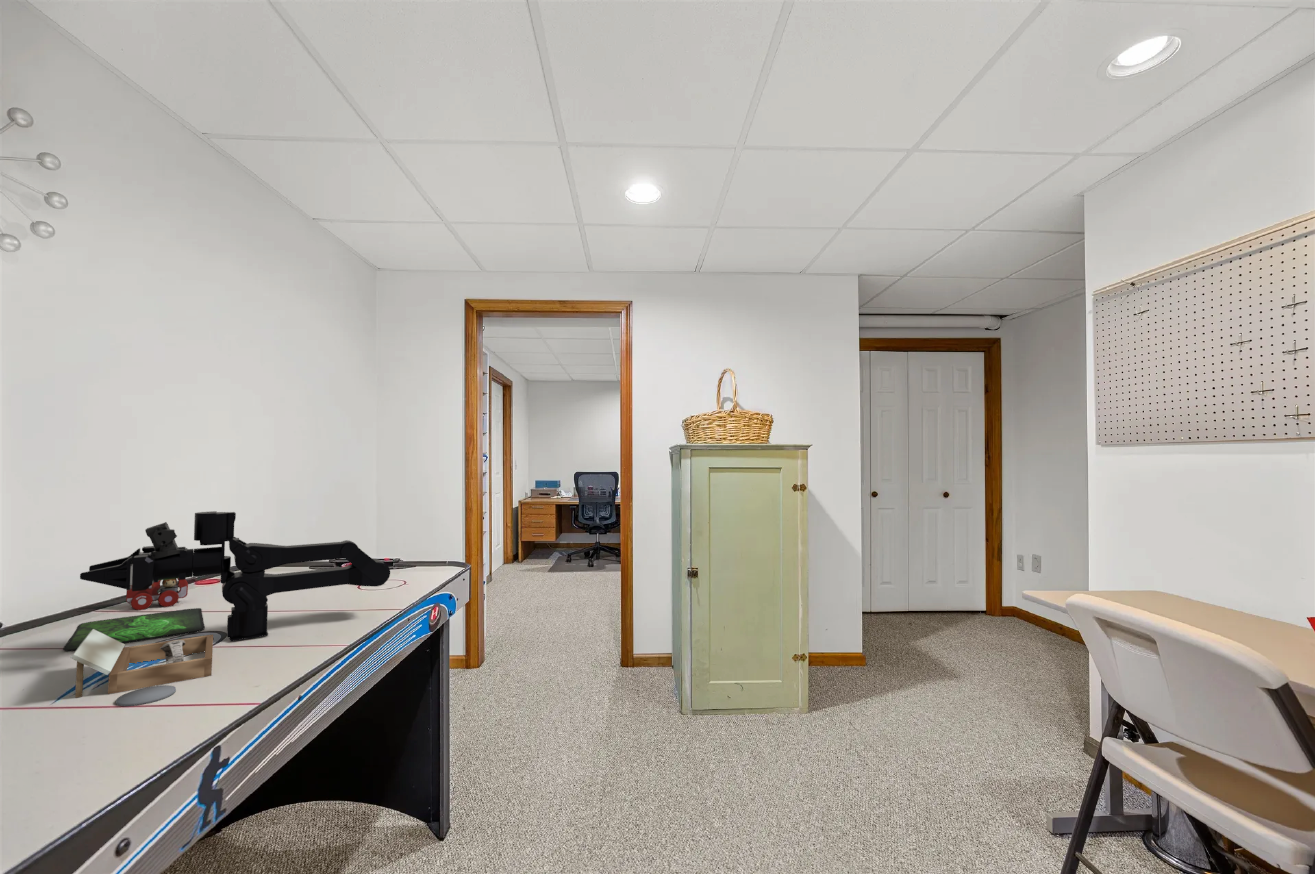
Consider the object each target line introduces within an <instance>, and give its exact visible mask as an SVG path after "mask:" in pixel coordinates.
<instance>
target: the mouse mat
mask: <svg viewBox="0 0 1315 874" xmlns="http://www.w3.org/2000/svg"><path fill="white" fill-rule="evenodd" d="M205 628H206V626H205V622H204V615H203V609H202V608H201V607H198V608H197V607H196V608H195V607H194V608H185V609H179V610H177V609H176V610H170V611H163V612H155V613H154V612H153V613H148V614H140V615H132V616H123V617H116V618H107V619H101V620H93V621H88V622H87V621H86V622H82V623H80V624H78V625H77V627H76V628H75V631H74V632H73V634H72V636H71V637H70V638H69V639H68V641H67V643H65V645H64V646H63V649H62V650H64V652H75V651H76V650H77V648H78V647H79V646H80V644H81V643H82V642H83V641H84V639H85V638H86V637H87V635H88V634H89V633H90V632H91V631H92V630H93V629H94V630H96V631H98V632H101V633H103V634H105V635H107V636H109V637H111V638H113V639H115V640H117V641H119V642H121V643H123V644H129V642H130V643H135V642H142V641H143V642H144V641H149V640H153V639H154V640H156V639H161V637H162V638H169V637H174V636H173V635H175V636H180V634H181V635H186V634H185V633H188V634H193V633H198V632H201V631H203V630H205ZM197 631H198V632H197Z"/></svg>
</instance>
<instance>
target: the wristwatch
mask: <svg viewBox="0 0 1315 874" xmlns="http://www.w3.org/2000/svg"><path fill="white" fill-rule="evenodd" d="M170 641H171V642H168V643H166V644H164V645H163V646H162V647H160V649H161V650H163V651H164V652H165V657H166V659H165V664H170V663H176V662H182V661H185V658H184V657H185V656H184V655H183V650H182V646H184V645H185V641H184V640H179V639H174V641H172V640H170Z"/></svg>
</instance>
